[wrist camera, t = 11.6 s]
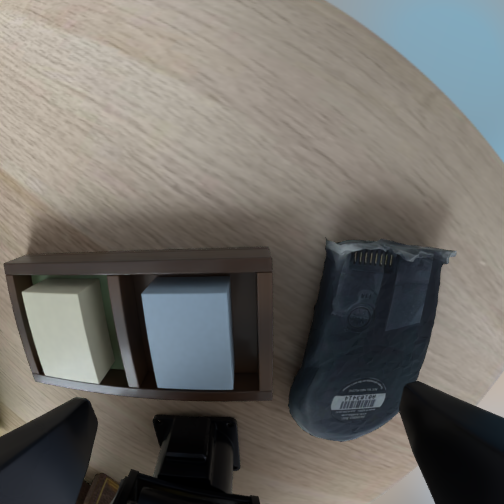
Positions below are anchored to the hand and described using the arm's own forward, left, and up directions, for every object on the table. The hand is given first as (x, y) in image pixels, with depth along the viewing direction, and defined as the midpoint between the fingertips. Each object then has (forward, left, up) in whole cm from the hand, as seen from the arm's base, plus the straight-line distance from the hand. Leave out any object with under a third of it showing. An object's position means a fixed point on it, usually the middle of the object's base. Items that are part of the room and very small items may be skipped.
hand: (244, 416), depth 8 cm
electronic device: (-5, -8, -12) cm, 15 cm away
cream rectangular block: (-2, +11, -11) cm, 16 cm away
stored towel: (-2, +3, -11) cm, 12 cm away
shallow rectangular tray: (-2, +7, -12) cm, 14 cm away
